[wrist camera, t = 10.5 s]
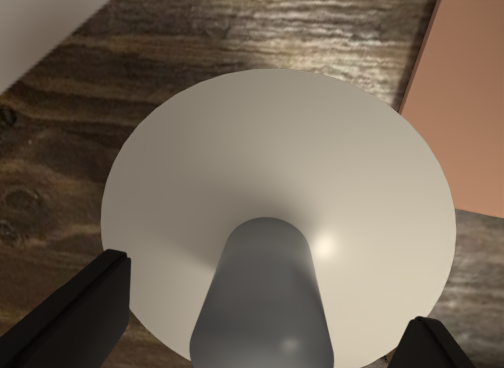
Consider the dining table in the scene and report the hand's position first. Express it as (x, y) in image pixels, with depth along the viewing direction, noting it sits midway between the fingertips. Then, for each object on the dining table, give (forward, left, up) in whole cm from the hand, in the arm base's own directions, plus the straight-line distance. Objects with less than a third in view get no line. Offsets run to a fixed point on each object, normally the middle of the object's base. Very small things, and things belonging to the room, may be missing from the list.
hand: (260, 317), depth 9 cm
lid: (0, 0, -4) cm, 4 cm away
